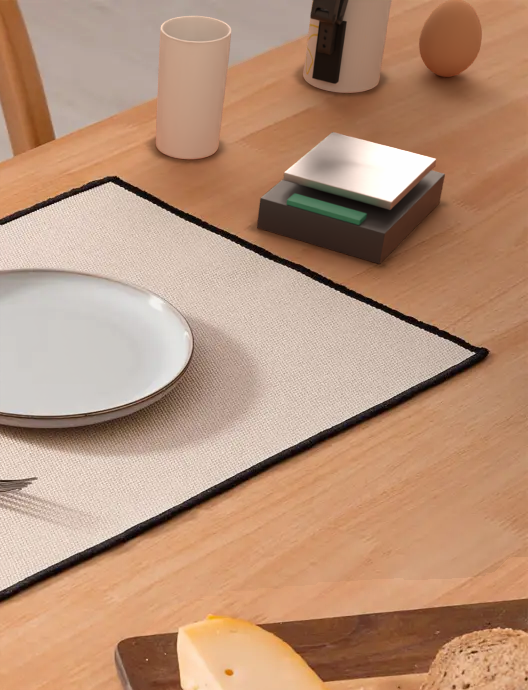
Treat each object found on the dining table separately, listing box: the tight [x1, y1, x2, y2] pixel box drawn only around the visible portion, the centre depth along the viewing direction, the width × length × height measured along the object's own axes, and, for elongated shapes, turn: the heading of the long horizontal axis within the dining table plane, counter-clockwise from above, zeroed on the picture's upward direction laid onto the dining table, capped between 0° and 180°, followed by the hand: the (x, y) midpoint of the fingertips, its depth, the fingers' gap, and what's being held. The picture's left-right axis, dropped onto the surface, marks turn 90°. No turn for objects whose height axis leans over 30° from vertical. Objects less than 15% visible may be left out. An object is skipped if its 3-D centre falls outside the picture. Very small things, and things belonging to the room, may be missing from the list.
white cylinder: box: [302, 0, 392, 94], centre depth 165 cm, size 8×8×12 cm
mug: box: [155, 15, 232, 160], centre depth 152 cm, size 10×7×12 cm, turn 163°
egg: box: [418, 0, 483, 78], centre depth 166 cm, size 6×6×8 cm
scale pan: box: [282, 131, 437, 210], centre depth 141 cm, size 10×10×1 cm
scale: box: [256, 169, 446, 265], centre depth 142 cm, size 12×14×4 cm
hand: (342, 66), depth 168 cm, fingers closed on white cylinder, 8 cm apart
